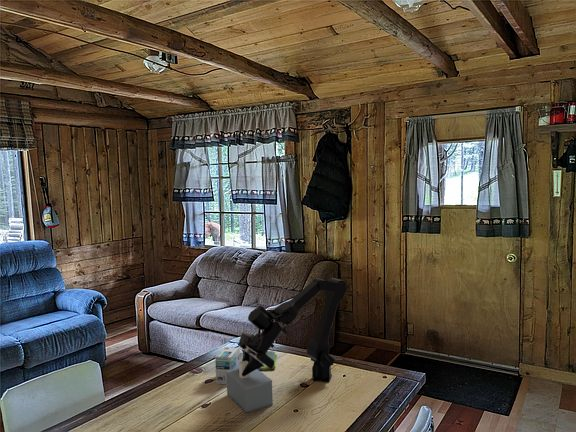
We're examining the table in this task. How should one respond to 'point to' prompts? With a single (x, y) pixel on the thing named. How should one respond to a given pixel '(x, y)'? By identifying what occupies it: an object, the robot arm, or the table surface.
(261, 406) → the carton
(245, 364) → the carton lid
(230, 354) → the light bulb box
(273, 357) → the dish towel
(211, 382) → the table surface
